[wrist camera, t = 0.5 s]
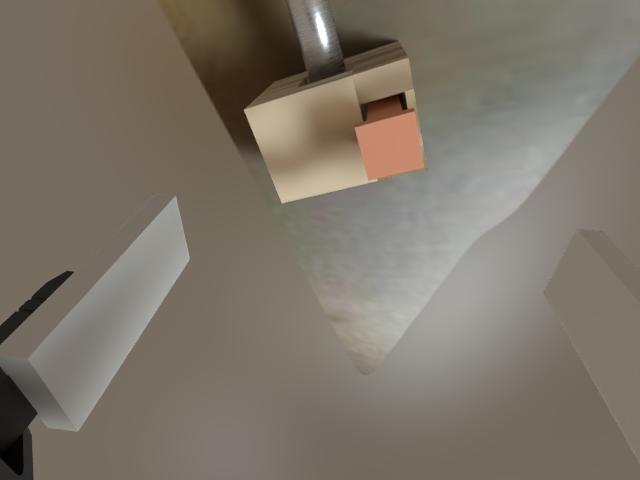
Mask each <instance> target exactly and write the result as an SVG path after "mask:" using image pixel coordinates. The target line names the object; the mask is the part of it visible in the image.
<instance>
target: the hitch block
mask: <svg viewBox="0 0 640 480" xmlns="http://www.w3.org/2000/svg"><path fill="white" fill-rule="evenodd" d="M344 63H345V67H346V71H347V72H345V73H341V74H338V75H335V76H332V77H329V78H326V79H323V80H320V81H316V82H313V83H310V80H309V77H308V73H307V71H305V72H302V73H299V74H296V75H293V76H290V77H287V78H284V79H281V80H278V81H275V82H274V83H273V84H271V85H270V86H269V87H268V88H267V89H266V90H265V91H264V92H263V93H262V94H260V95H259V96H258V97H257V98H256V99H255V100H254V101H253V102H252V103H250V104H249V105H248V106H247V107H246V108H245V109H244V112H245V114H246V116H247V119H248V121H249V124H250V126H251V129H252V131H253V134H254V136H255V138H256V141H257V143H258V146H259V148H260V151H261V153H262V156H263V158H264V160H265V163H266V165H267V168H268V170H269V173H270V175H271V178H272V180H273V182H274V185H275V187H276V190H277V192H278V195H279V197H280V200H281V202H282V203H285V202H289V201H294V200H298V199H302V198H307V197H311V196H315V195H319V194H324V193H328V192H332V191H337V190H341V189H345V188H349V187H354V186H358V185H362V184H367V183H371V182H375V181H379V180H384V179H388V178H392V177H396V176H401V175H405V174H409V173H414V172H418V171H422V170H426V169H427V166H426V160H425V154H424V148H423V142H422V136H421V130H420V124H419V118H418V112H417V106H416V100H415V94H414V88H413V82H412V76H411V70H410V64H409V58H408V56H407V54H406V53H405V51H404V49H403V48H402V46H401V44H400V43H399V41H396V42H393V43H390V44H387V45H384V46H381V47H378V48H375V49H372V50H369V51H366V52H363V53H360V54H357V55H354V56H351V57H348V58H345V59H344ZM397 94H398V96H399V99H400V103H401V107H402V110H407V109H410V108H414V110H415V115H416V121H417V127H418V133H419V139H420V145H421V151H422V157H423V162H424V168H420V169H416V170H411V171H407V172H403V173H399V174H394V175H390V176H386V177H382V178H377V179H373V180H369V181H368V177H367V173H366V169H365V166H364V162H363V158H362V154H361V150H360V146H359V143H358V139H357V135H356V131H355V124H356V123H360V122H364V121H367V107H368V103H370V102H373V101H377V100H380V99H384V98H387V97H391V96H394V95H397Z"/></svg>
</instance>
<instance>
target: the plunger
mask: <svg viewBox="0 0 640 480" xmlns="http://www.w3.org/2000/svg"><path fill="white" fill-rule="evenodd" d="M355 131H356V135H357V139H358V143H359V146H360V150H361V154H362V158H363V162H364V166H365V169H366V173H367V177H368V181H369V180H373V179H377V178H382V177H386V176H390V175H394V174H399V173H403V172H407V171H411V170H416V169H420V168H424V162H423V157H422V151H421V145H420V139H419V133H418V127H417V121H416V115H415V110H414V108H410V109H407V110H402V107H401V103H400V99H399V96H398V94H397V95H394V96H391V97H387V98H384V99H380V100H377V101H373V102H370V103H368V107H367V121H364V122H360V123H356V124H355Z"/></svg>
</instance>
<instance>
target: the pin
mask: <svg viewBox="0 0 640 480" xmlns="http://www.w3.org/2000/svg"><path fill="white" fill-rule="evenodd" d="M285 1H286V4H287V8H288V11H289V14H290V17H291V21H292V24H293V27H294V31H295V34H296V37H297V40H298V44H299V47H300V50H301V54H302V57H303V60H304V63H305V67H306V70H307V73H308V77H309V80H310V83H313V82H316V81H320V80H323V79H326V78H329V77H332V76H335V75H338V74H341V73H345V72H347V71H346V67H345V63H344V59H343V55H342V51H341V47H340V43H339V39H338V35H337V31H336V27H335V23H334V19H333V15H332V11H331V7H330V3H329V0H285Z"/></svg>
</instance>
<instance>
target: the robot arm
mask: <svg viewBox="0 0 640 480" xmlns="http://www.w3.org/2000/svg"><path fill="white" fill-rule="evenodd" d="M189 259H190V257H189V253H188V249H187V244H186V240H185V235H184V231H183V226H182V222H181V217H180V213H179V209H178V204H177V199H176V196H173V195H161V194H154V195H153V196H152V197H150V198H149V200H147V201H146V202H145V203H144V204H143V205H142V206H141V207H140V208H139V209H138V210H137V211H136V212H135V213H134V214H133V215H132V216H131V217H130V218H129V219H128V220H127V221H126V222H125V223H124V224H123V225H122V226H121V227H120V228H119V229H118V230H117V231H116V232H115V233H114V234H113V235H112V236H111V237H110V238H109V239H108V240H107V241H106V242H105V243H104V244H103V245H102V246H101V247H100V248H99V249H97V251H96V252H94V254H92V256H90V257H89V258H88V259H87V260H86V261H85V262H84V263H83V264H82V265H81V266H80V267H79V268H78V269H77V270H76V271H75V272H71V271H66V272H64V273H63V274H61V275H59V276H57V277H56V278H54V279H52V280H51V281H49V282H47V283H46V284H45V285H44V286H43V287H42V288H40V289H39V290H38V291H37V292H36V293H35V294H34V295H33V296H32V299H31V300H28V301H26V302H25V303H24V305H22V306H21V307H20V308H19V311H18V312H15V313H14V314H13V315H11V316H10V317H9V318H8V319H7V320H6V321H5V322H4V323H3V324H2V325H1V326H0V480H33V456H32V435H31V433H30V430H29V428H28V426H29V424H30V423H31V422H32V420H33V419H34V417H35V416H36V415H37V414H38V416H39V417H40V418H41V419H42V421H43V422H44V423H45V425H46V426H47V427H48V428H56V429H63V430H71V431H78V430H79V429H80V427H81V426H82V424H83V423H84V421H85V420H86V418H87V416H88V415H89V414H90V412H91V410H92V409H93V408H94V406H95V404H96V403H97V401H98V400H99V398H100V397H101V395H102V394H103V392H104V391H105V389H106V387H107V386H108V384H109V383H110V381H111V380H112V378H113V377H114V375H115V374H116V372H117V370H118V369H119V367H120V366H121V364H122V363H123V361H124V359H125V358H126V357H127V355H128V354H129V352H130V351H131V349H132V347H133V346H134V344H135V343H136V341H137V340H138V338H139V337H140V335H141V334H142V332H143V331H144V329H145V327H146V326H147V324H148V323H149V321H150V320H151V318H152V317H153V315H154V314H155V312H156V310H157V309H158V307H159V306H160V304H161V303H162V301H163V300H164V298H165V297H166V295H167V294H168V292H169V290H170V289H171V287H172V286H173V284H174V283H175V281H176V280H177V278H178V276H179V275H180V273H181V272H182V270H183V269H184V267H185V266H186V264H187V263H188V261H189ZM544 295H545V297H546V299H547V300H548V302H549V304H550V306H551V307H552V309H553V311H554V313H555V314H556V316H557V318H558V320H559V322H560V323H561V325H562V327H563V328H564V330H565V332H566V334H567V336H568V338H569V339H570V341H571V343H572V345H573V346H574V348H575V350H576V351H577V354H578V355H579V357H580V359H581V361H582V362H583V364H584V366H585V368H586V370H587V371H588V373H589V375H590V377H591V378H592V380H593V382H594V384H595V386H596V387H597V389H598V391H599V393H600V394H601V396H602V398H603V400H604V402H605V403H606V405H607V406H608V409H609V410H610V412H611V414H612V416H613V417H614V419H615V421H616V423H617V425H618V426H619V428H620V430H621V432H622V433H623V435H624V437H625V439H626V440H627V442H628V444H629V446H630V448H631V449H632V451H633V453H634V455H635V457H636V458H637V460H638V462H639V464H640V271H639V270H638V268H637V267H636V266H635V265H634V264H633V263H632V262H631V261H630V260H629V259H628V258H627V257H626V256H625V254H624V253H623V252H622V251H621V250H620V249H619V248H618V247H617V246H616V245H615V244H614V243H613V242H612V241H611V240H610V239H609V238H608V236H607V235H606V234H605V233H604V232H603V231H595V230H583V229H577V230H576V232H575V234H574V236H573V238H572V240H571V242H570V243H569V245H568V247H567V249H566V251H565V253H564V255H563V257H562V258H561V260H560V262H559V264H558V266H557V268H556V270H555V272H554V274H553V275H552V278H551V279H550V281H549V283H548V285H547V287H546V289H545V291H544Z"/></svg>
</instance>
